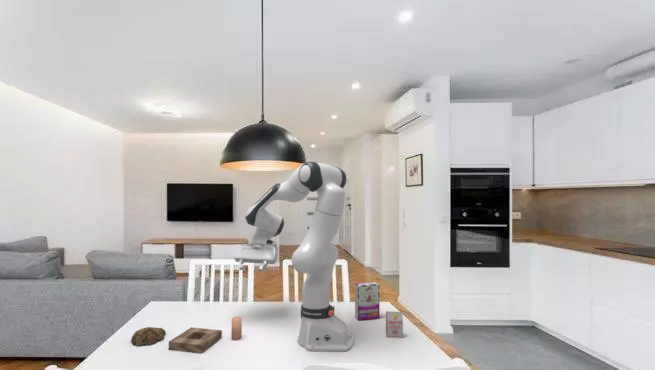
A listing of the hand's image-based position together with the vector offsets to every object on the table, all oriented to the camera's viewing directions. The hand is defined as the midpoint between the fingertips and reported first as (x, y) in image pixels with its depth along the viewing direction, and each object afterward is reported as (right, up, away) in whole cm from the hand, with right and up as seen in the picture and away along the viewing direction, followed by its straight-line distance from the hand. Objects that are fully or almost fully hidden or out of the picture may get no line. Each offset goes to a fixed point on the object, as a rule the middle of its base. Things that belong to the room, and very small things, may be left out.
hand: (250, 270), depth 150 cm
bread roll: (-38, -25, -15) cm, 48 cm away
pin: (-3, -24, -14) cm, 28 cm away
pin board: (-17, -24, -19) cm, 35 cm away
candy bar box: (+53, -26, +10) cm, 60 cm away
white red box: (+62, -25, -10) cm, 68 cm away
